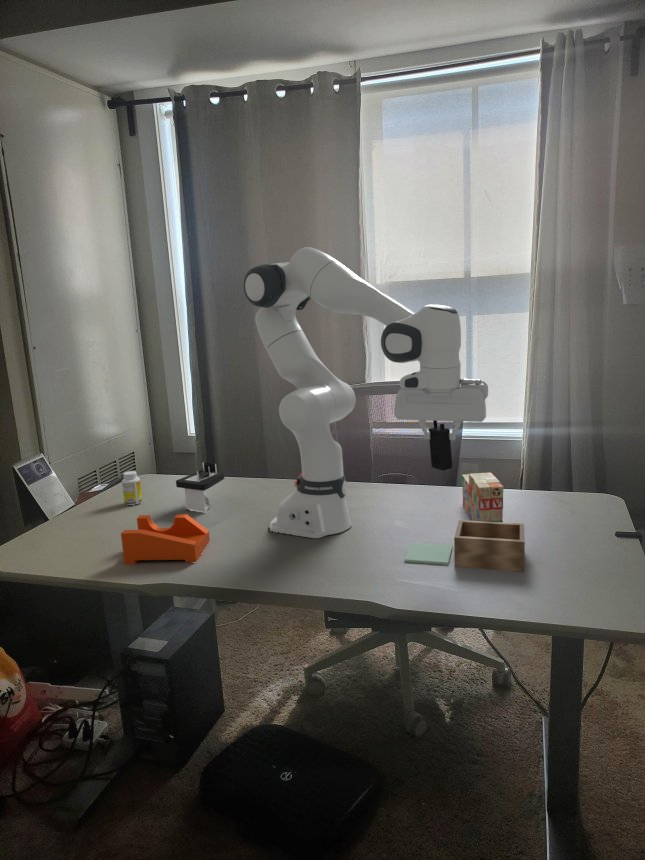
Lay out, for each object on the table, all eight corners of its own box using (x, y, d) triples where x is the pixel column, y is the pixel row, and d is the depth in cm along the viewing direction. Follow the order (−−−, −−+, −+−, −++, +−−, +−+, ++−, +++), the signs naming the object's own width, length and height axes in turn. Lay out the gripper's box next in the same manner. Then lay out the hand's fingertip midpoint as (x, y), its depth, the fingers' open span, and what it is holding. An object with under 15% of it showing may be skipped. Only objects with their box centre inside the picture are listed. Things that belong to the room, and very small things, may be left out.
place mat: (404, 561, 144) (404, 559, 144) (411, 544, 153) (411, 542, 153) (448, 565, 141) (448, 562, 141) (452, 547, 150) (452, 545, 150)
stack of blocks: (462, 504, 180) (461, 464, 177) (483, 503, 179) (483, 463, 177) (478, 532, 159) (478, 486, 156) (503, 531, 158) (503, 485, 156)
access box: (454, 566, 140) (454, 537, 138) (458, 547, 150) (458, 520, 148) (524, 571, 135) (524, 541, 134) (523, 551, 145) (524, 523, 144)
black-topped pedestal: (209, 530, 171) (204, 484, 169) (141, 518, 184) (135, 475, 182) (267, 499, 195) (263, 458, 192) (203, 490, 208) (199, 452, 205)
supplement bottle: (139, 499, 201) (135, 469, 199) (145, 503, 197) (141, 472, 195) (122, 503, 198) (118, 472, 196) (128, 507, 193) (124, 476, 191)
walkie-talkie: (453, 467, 140) (449, 403, 137) (442, 471, 139) (436, 406, 136) (440, 464, 144) (435, 401, 141) (428, 467, 143) (423, 404, 140)
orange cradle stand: (124, 565, 151) (120, 533, 150) (143, 545, 164) (140, 515, 162) (196, 564, 150) (193, 532, 148) (210, 543, 162) (207, 513, 160)
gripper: (489, 377, 137) (487, 437, 140) (397, 376, 143) (398, 434, 146) (487, 381, 131) (486, 444, 134) (392, 380, 137) (393, 440, 140)
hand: (439, 439), depth 140 cm, fingers closed on walkie-talkie, 4 cm apart
